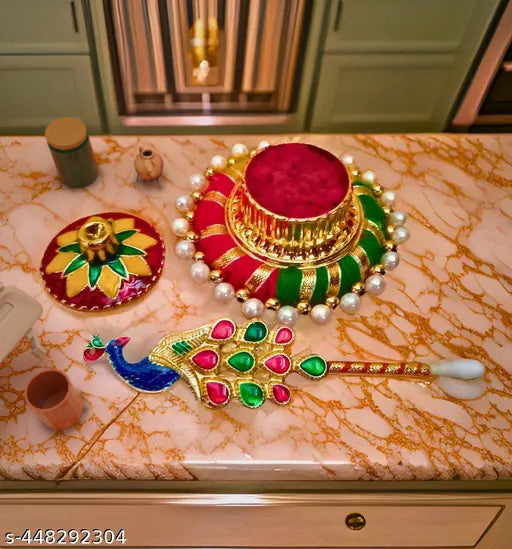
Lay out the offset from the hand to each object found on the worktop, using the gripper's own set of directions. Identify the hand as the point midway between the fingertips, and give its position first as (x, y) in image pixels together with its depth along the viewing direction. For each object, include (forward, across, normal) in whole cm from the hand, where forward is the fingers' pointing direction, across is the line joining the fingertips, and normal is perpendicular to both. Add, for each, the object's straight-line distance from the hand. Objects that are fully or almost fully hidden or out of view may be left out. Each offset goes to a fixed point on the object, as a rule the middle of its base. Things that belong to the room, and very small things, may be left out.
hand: (23, 380), depth 87 cm
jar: (-12, +43, +24) cm, 51 cm away
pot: (-2, +49, +14) cm, 51 cm away
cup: (+9, +1, +3) cm, 10 cm away
